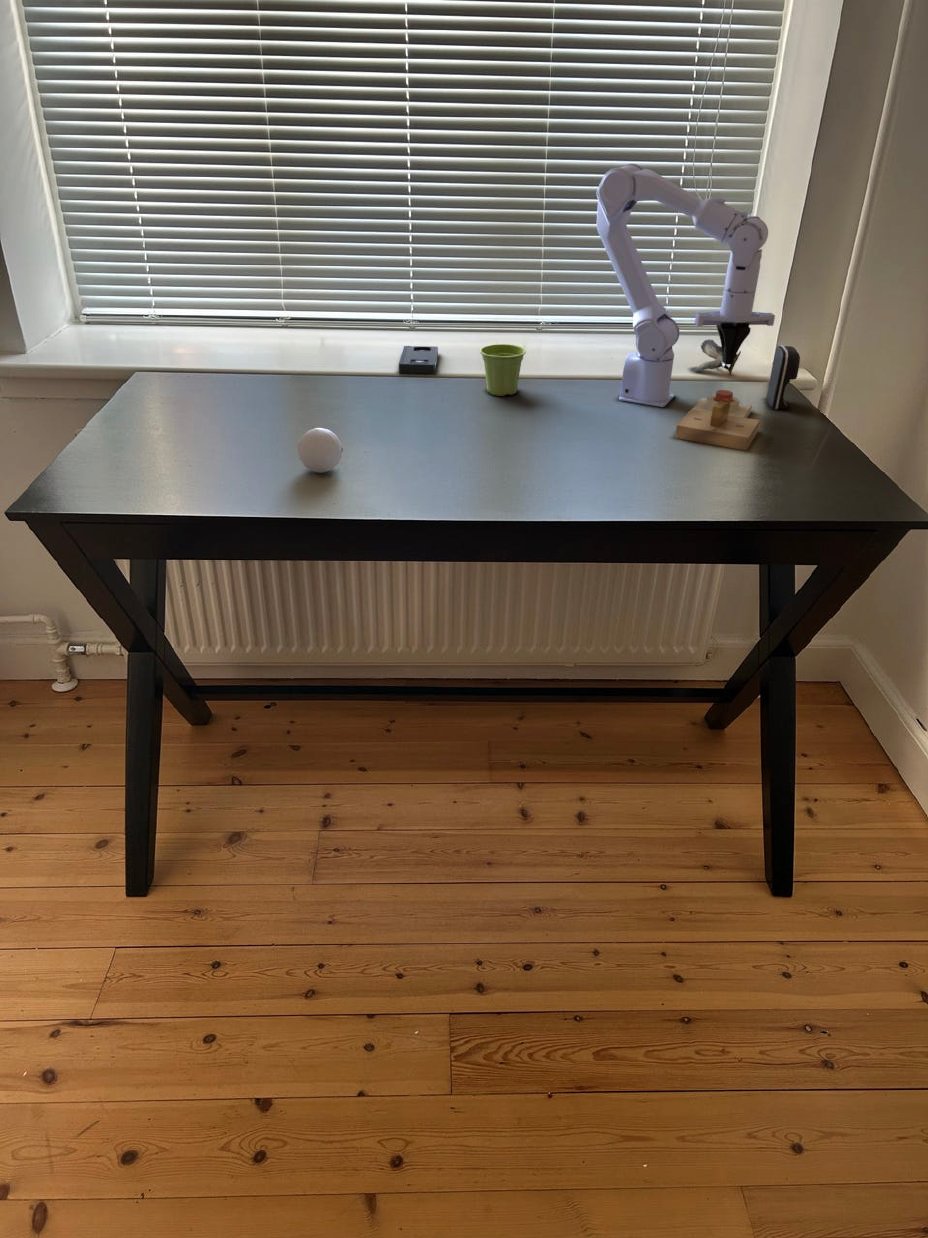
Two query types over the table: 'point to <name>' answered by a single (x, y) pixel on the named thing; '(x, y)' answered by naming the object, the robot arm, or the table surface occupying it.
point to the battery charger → (782, 375)
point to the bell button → (723, 395)
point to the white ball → (319, 450)
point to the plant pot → (502, 367)
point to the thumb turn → (720, 412)
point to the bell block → (734, 409)
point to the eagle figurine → (716, 353)
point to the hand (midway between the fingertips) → (727, 362)
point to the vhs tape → (418, 359)
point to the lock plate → (717, 430)
